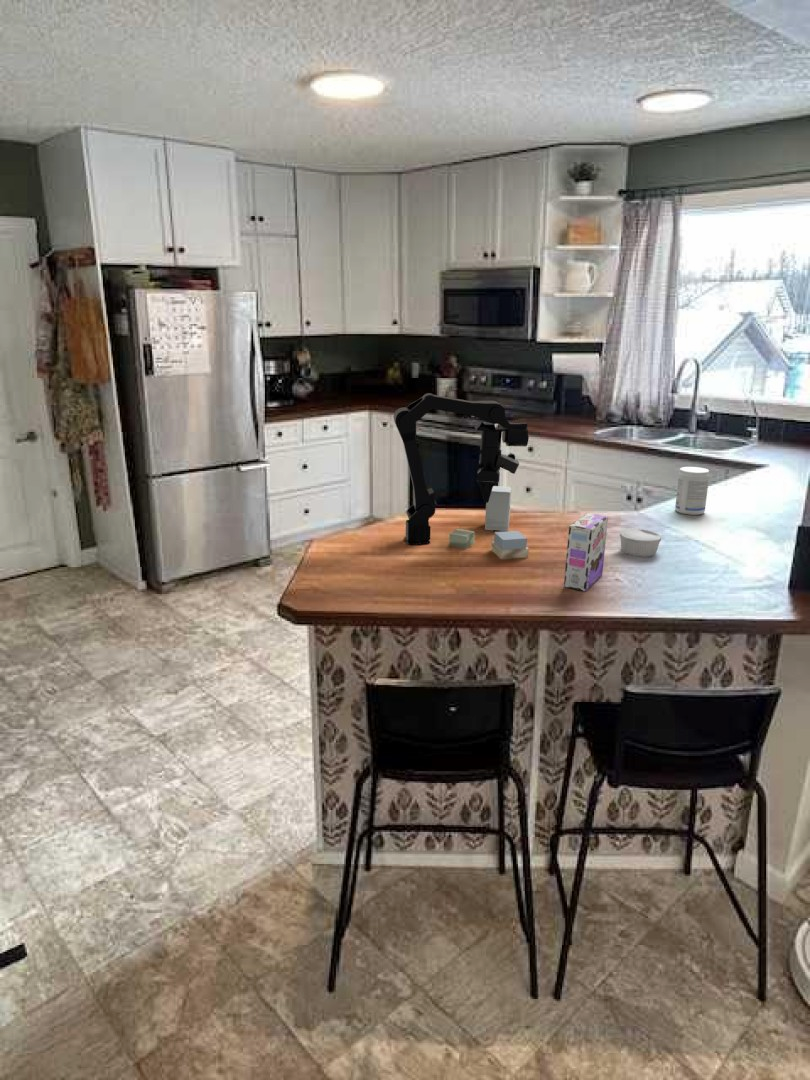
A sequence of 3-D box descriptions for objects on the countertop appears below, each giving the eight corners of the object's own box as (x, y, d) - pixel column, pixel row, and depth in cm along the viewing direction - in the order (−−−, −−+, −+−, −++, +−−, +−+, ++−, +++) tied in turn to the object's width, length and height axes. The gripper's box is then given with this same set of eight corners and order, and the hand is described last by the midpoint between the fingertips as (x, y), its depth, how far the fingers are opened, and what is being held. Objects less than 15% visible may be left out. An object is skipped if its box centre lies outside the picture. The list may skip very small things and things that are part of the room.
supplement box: (508, 531, 228) (510, 492, 224) (484, 530, 229) (485, 490, 225) (509, 524, 235) (511, 486, 231) (486, 523, 236) (488, 485, 232)
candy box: (585, 592, 182) (591, 529, 177) (562, 587, 185) (568, 524, 180) (603, 575, 193) (609, 515, 188) (581, 571, 196) (586, 511, 191)
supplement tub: (709, 512, 251) (715, 469, 246) (696, 517, 244) (702, 474, 240) (682, 506, 257) (687, 464, 252) (669, 511, 251) (674, 469, 246)
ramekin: (665, 551, 212) (668, 534, 210) (648, 561, 204) (650, 543, 202) (629, 543, 219) (631, 526, 217) (611, 552, 211) (613, 534, 210)
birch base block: (501, 560, 204) (501, 550, 204) (491, 551, 212) (491, 541, 211) (528, 558, 206) (528, 548, 205) (517, 549, 214) (518, 539, 213)
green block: (466, 549, 212) (466, 536, 211) (449, 546, 215) (449, 533, 213) (474, 544, 217) (474, 531, 215) (457, 541, 219) (457, 528, 218)
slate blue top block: (502, 550, 204) (503, 539, 203) (494, 542, 210) (494, 532, 209) (526, 548, 205) (527, 538, 204) (517, 540, 212) (517, 530, 211)
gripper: (519, 454, 202) (514, 508, 207) (518, 441, 219) (513, 492, 224) (478, 451, 203) (475, 506, 208) (480, 439, 221) (477, 490, 226)
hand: (486, 498), depth 216 cm, fingers open, 9 cm apart
